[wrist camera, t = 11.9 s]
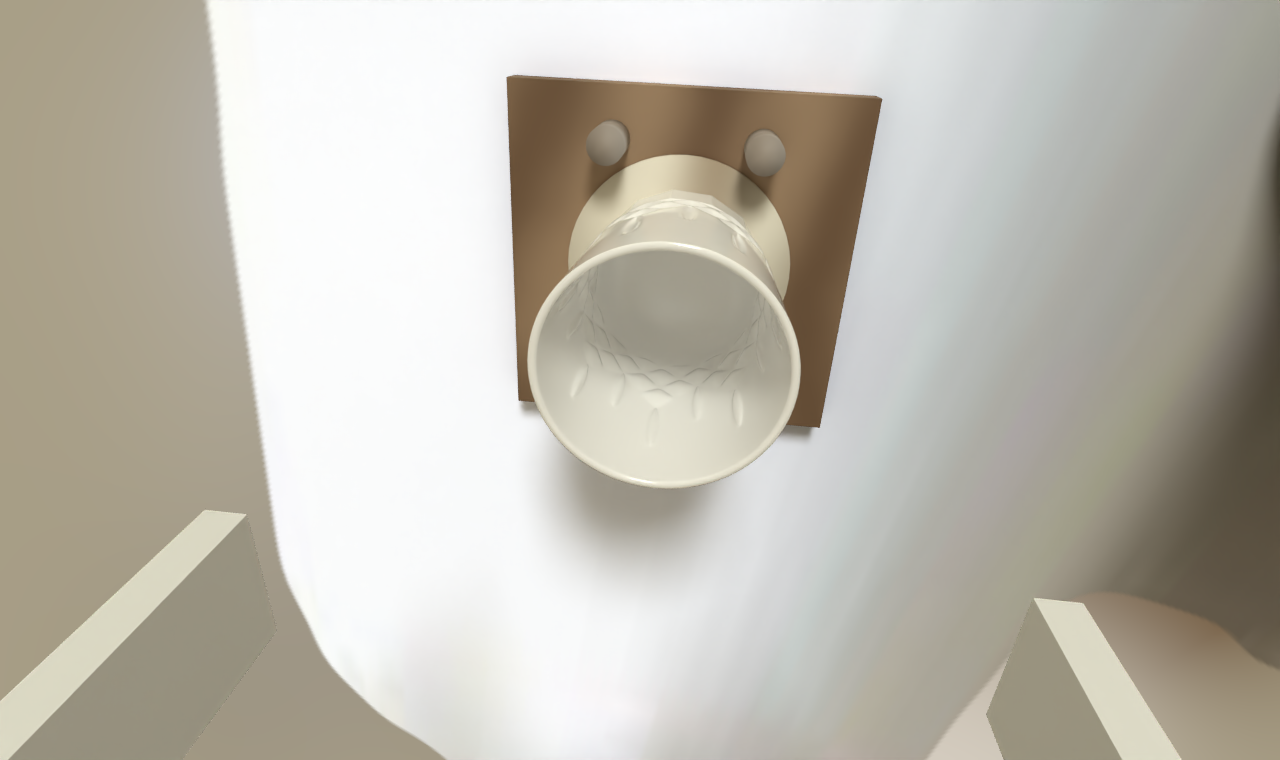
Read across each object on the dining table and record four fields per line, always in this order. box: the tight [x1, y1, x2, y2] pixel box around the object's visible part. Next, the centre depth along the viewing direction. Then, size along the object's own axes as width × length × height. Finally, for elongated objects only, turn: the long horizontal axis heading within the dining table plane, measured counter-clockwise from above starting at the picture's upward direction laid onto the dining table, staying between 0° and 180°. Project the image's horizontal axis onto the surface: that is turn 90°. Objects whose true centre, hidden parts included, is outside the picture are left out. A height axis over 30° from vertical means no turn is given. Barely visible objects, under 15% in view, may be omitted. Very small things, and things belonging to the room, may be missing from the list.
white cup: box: [527, 189, 801, 489], centre depth 25 cm, size 8×8×10 cm
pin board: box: [507, 75, 882, 428], centre depth 29 cm, size 14×14×3 cm
